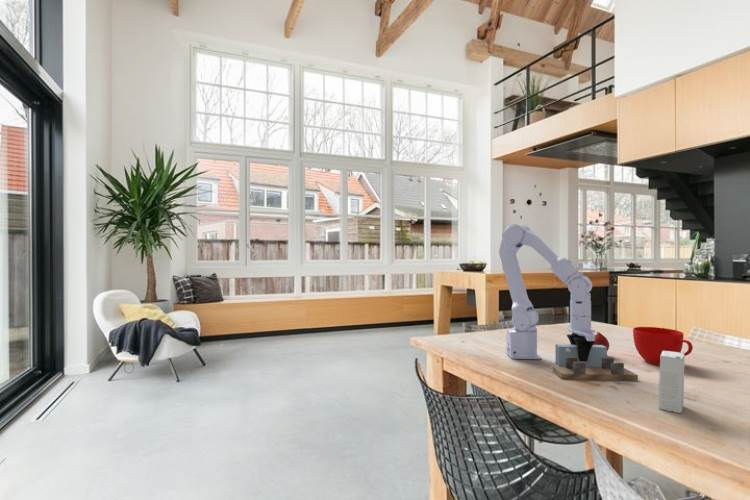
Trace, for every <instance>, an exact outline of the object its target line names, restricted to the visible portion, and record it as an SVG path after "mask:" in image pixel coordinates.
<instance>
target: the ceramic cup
mask: <svg viewBox="0 0 750 500" xmlns="http://www.w3.org/2000/svg"><path fill="white" fill-rule="evenodd" d="M632 334H633V335H632V336H633V343H634V346H635V349H636V351H637V353H638V354H639V356H640V357H641V358H642V359H643V360H644V362H646V363H648V364H653V365H656V366H657V365H658V366H660V356H661V353H662V351H671V352H679V353H682V349H683V345H684V344H683V343H685V344H686V345H687V348H688V349H687V351H685V352H683V353H684V354H685V357H686V356H689V355H690V354H691V353H692V352H693V349H694V347H693V344H692V342H691V341H690V340H688V339H684V332H682V331H679V330H677V329H670V328H664V327H657V326H656V327H655V326H635V327H633V329H632Z"/></svg>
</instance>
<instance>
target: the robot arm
mask: <svg viewBox="0 0 750 500" xmlns="http://www.w3.org/2000/svg"><path fill="white" fill-rule="evenodd" d="M523 246H528V247H531V248H533V249H534V251H536V252H537V253H538V254H539V255H541V256H542V258H543V259H544V260H545V261H546V262H548V263H549V264H550V270H551V272H552V273H554V275H555V276H557V278H558V279H559V280H560V281H562V283H563V284H564V285H567V289H568V291H569V292H570V300H569V306H570V307H569V308H570V309H569V310H570V311H569V315H570V317H569V318H570V319H569V323H570V324H568V325H567V332H569V333H568V334H566V337H567V339H568V341H569V342H570V343H569V344H570V345H576V346H577V350H578V358H579V361H587V360H588V357H589V353H590V350H591V348H592V346H593V344H594V343H595V335H596V334H594V333H596V330H595V329H592V301H591V298H592V297H591V291H592V289H593V282H592V281H591V279H590V277H588V276H586V275H584V272H583V271H579V269H578V268H577V267H575V266H574V265H573V264H572V263H573V261H572V259H570V258H569V259H567V258H566V257H559V256H558V255H557V253H555V252H554V250H552V248H551V247H549V246H548V244H547V243H546V241H545V242H544V240H543V239H542V238H541V237H540V236H539V235H538V234H537V233H536V232H535V231H533V230H531V228H529V227H528V226H527V225H520V224H517V223H511V224H510V225H507V227H506V228H505V229H504V230H503V232H502V233H501V242H500V247H499V251H498V254H499V258H500V262H501V265H502V269H503V272H504V275H505V279H506V283H507V287H508V290H509V294H510V298H511V301H512V302H511V303H512V305H511V314H512V317H511V323H512V325H513V329H507V330H506V336H505V337H506V345H505V346H506V351H505V354H506V355H508V356H509V358H511V359H514V360H516V359H518V360H520V359H521V360H542V356H540V355H539V354H538V328H537V327H536V325H537V324H538V323H539V321H540V320H539V319H540V317H539V313H538V312H537V311H536V309H535V308H534V305H533V304H532V302H531V300H530V299H529V296H528V293H527V288H526V286H525V281H524V278H523V275H522V271H521V268H520V265H519V261H518V258H517V253H518V252H519V251H520V249H521V247H523ZM570 333H571V334H570Z"/></svg>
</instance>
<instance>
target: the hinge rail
mask: <svg viewBox="0 0 750 500" xmlns="http://www.w3.org/2000/svg"><path fill="white" fill-rule="evenodd" d="M552 372H553V374H555V375H556V376H557V377H558V378H560V379H562V380H587V381H588V380H589V381H590V380H592V381H595V380H596V381H628V382H629V381H631V382H633V381H636V382H637V381H638V382H639V375H638V374H637V373H635V372H633V371H631V370H629V369H627V368H626V367H625V363H623V362H615V358H614V357H607V358H604V357H602V367H586V363H585V362H578V358H577V357H566V366H552Z"/></svg>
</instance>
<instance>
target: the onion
mask: <svg viewBox="0 0 750 500" xmlns="http://www.w3.org/2000/svg"><path fill="white" fill-rule="evenodd" d="M594 335H595V343H594V344H593V345H603V346H605V347H607V352H608V351H609V349H610V342H609V340H608V339H607V337H606V336H605V335H603V334H602V333H601V332H600V331H596V334H594Z"/></svg>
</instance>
